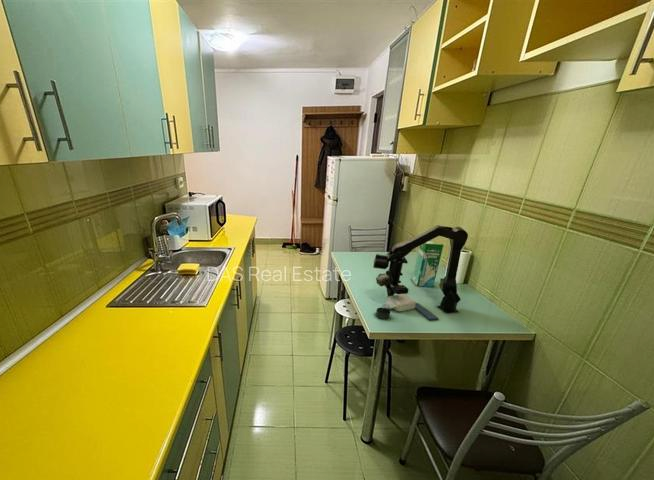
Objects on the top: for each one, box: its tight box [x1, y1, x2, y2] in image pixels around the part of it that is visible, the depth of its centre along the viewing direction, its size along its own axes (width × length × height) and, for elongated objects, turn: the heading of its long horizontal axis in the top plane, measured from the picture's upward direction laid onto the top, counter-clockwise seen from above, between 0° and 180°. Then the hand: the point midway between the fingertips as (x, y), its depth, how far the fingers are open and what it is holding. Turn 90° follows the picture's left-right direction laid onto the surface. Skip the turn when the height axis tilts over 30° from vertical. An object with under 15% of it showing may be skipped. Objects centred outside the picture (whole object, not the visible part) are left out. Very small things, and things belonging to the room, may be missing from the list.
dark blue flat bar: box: [414, 302, 439, 321], centre depth 144 cm, size 4×15×1 cm, turn 13°
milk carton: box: [411, 240, 444, 288], centre depth 170 cm, size 9×9×25 cm
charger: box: [381, 294, 417, 312], centre depth 147 cm, size 5×9×15 cm
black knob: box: [375, 307, 391, 321], centre depth 139 cm, size 6×6×3 cm
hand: (389, 298), depth 153 cm, fingers closed
